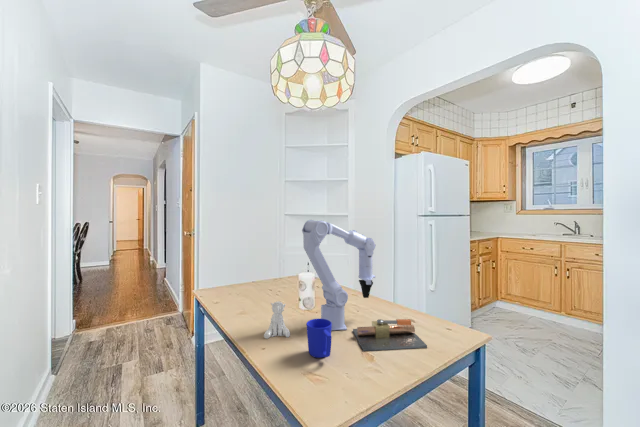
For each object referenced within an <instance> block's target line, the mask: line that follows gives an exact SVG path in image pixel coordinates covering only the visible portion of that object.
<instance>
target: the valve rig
mask: <svg viewBox="0 0 640 427" xmlns="http://www.w3.org/2000/svg"><path fill="white" fill-rule="evenodd" d="M415 329H416V328H415V325H414V324H411V325H397V324H392V325H390V324H383V325H379V324H377V320H375V321H374V320H373V321H371V326H357V327H356V328H353V329H352V332H353V334H354V336H355V338H356V340H357V342H358V344H359V346H360V348H361V349H362V352H375V351H390V350H406V349H407V350H408V349H409V350H410V349H411V350H412V349H427V348H428V345H427V343H425V342H424V341H423V340H422V338H420V336H419V335H417V334H416V333H415V332H416V330H415Z"/></svg>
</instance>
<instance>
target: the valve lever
mask: <svg viewBox="0 0 640 427" xmlns="http://www.w3.org/2000/svg"><path fill="white" fill-rule="evenodd" d="M376 321H377V324H379V325H383V324H388V325H412V320H411V319H406V318H405V319H404V318H403V319H402V318H401V319H399V318H397V319H395V320H391V319H390V320H389V319H388V320H386V319H377V320H376Z"/></svg>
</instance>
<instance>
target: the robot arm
mask: <svg viewBox="0 0 640 427" xmlns="http://www.w3.org/2000/svg"><path fill="white" fill-rule="evenodd" d="M301 232H302V236H303V237H302V238H303V250H304V251H305V254H306V255H307V257H308V259H309V261H310V263H311V265H312V267H313V269H314V271H315V273H316V274H317V277H318V278H319V280H320V282H321V284H322V286H321V289H322V291H323V292H322V293H323V298H324V299H325V303H324V304H321V306H320V319H326V320H329V321H330V322H331V323H332V328H331V331H343V330H344V331H346V330H348V327H347V325H346V324H345V323H346V322H345V307H346V304H347V302H348V300H349V294H348V292H347V291H346V290H345V289H343V287H342V286H341V284H340V283H338V282H337V281H336V278H335V276H334V275H333V273H332V271H331V269H330V267H329V265H328V262H327V261H326V259H325V256H324V255H323V252H322V251H321V248H320V245H321V243H322V242H323V240H324V239H325V238H326V236H327V235H332V236H333V235H334V236H336V237H338V238H341V239H343V240H344V242H345V244H347V245H350V246H352V247H355V248H356V249H357V250H358V279H359V280H358V282H359V285H360V288H361V293H362V297H363V299H369V297H370V293H371V290H372V286H373V285H374V281H373V280H374V279H376V275H375V274H373V270H374V269H373V267H374V266H373V265H374V264H373V260H374V259H373V255H374V251H375V249H376V242H375V240H374V239H373V238H372V237H366V235H365V234H364V233H363V234H360V233H359V232H358V231H357V230H355V229H352V230H348V231H346V230H344V229H343V228H341V227H339V226H337V225H336V224H333V223H331V222H327V221H324V220H314V219H309V220H306V221H305V222H304V224H303V227H302V229H301Z"/></svg>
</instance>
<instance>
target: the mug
mask: <svg viewBox="0 0 640 427" xmlns="http://www.w3.org/2000/svg"><path fill="white" fill-rule="evenodd" d="M305 326H306V334H307V348H308V353H309V355H310V356H311V357H313V358H316V359H317V358H329V357H330V355H331V351H332V337H333V336H332V330H331V328H332V323H331V322H330V321H329V320H326V319H321V318H313V319H310V320H308V321H307V322H306V325H305Z"/></svg>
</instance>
